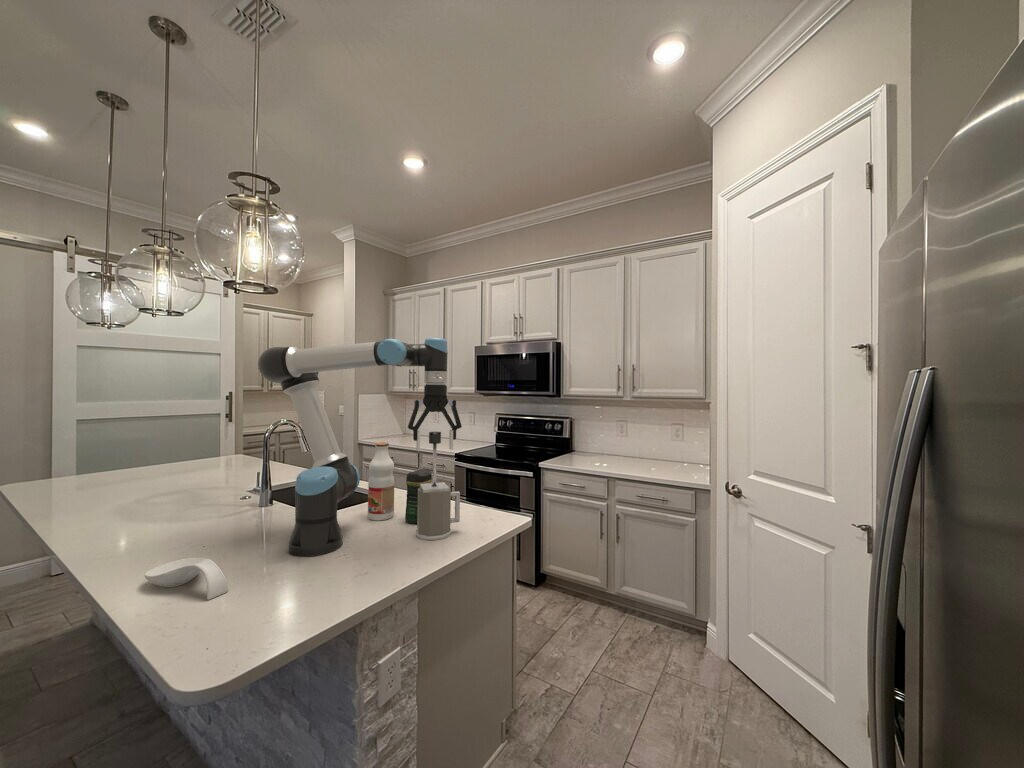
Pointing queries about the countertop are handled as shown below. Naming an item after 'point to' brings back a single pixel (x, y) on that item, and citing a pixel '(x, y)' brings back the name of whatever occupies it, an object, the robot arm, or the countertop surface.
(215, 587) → the spoon rest
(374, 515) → the fruit juice
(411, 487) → the coffee jar
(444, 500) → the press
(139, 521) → the countertop surface
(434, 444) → the plunger
